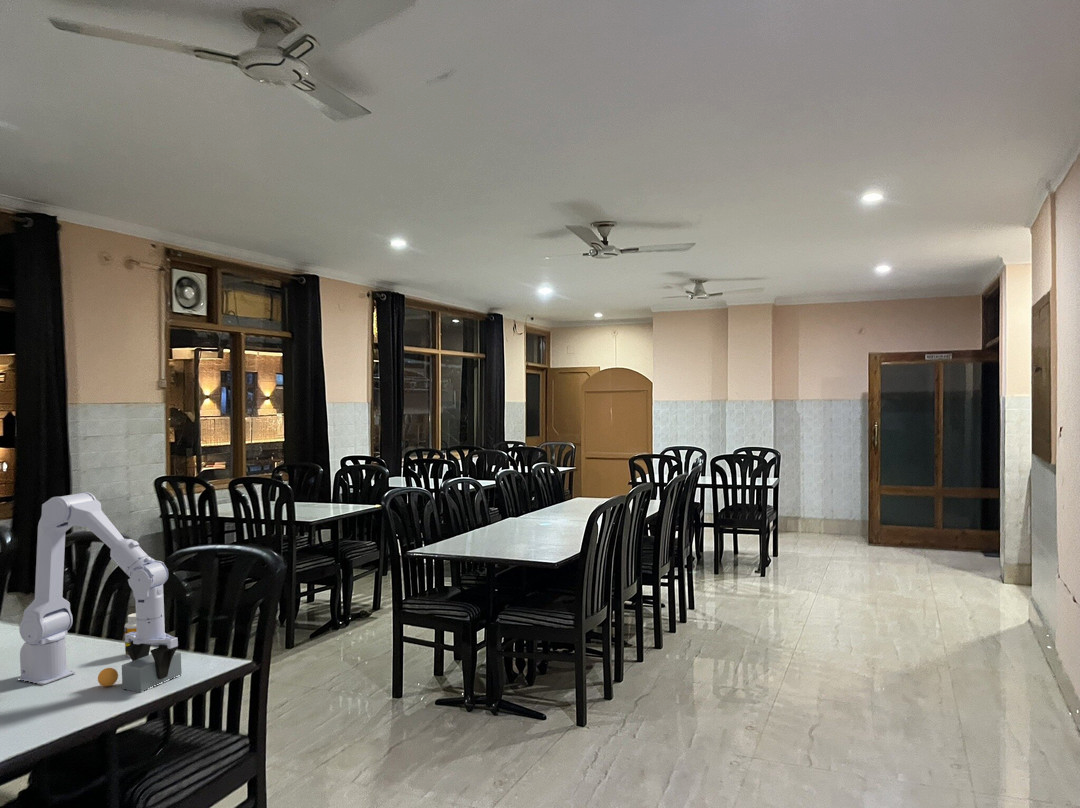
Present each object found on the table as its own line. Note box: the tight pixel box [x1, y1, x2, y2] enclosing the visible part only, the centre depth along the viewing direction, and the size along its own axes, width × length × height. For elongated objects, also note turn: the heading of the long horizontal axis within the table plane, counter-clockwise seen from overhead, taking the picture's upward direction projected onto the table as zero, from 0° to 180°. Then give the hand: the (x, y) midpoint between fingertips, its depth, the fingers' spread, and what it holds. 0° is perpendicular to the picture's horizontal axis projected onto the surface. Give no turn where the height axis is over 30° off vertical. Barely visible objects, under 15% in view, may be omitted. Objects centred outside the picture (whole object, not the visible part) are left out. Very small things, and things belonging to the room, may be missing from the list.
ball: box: [97, 667, 119, 688], centre depth 173 cm, size 4×4×4 cm
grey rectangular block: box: [121, 651, 183, 693], centre depth 175 cm, size 6×11×5 cm, turn 156°
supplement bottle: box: [124, 612, 151, 658], centre depth 195 cm, size 6×6×10 cm
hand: (152, 676), depth 175 cm, fingers closed on grey rectangular block, 6 cm apart
